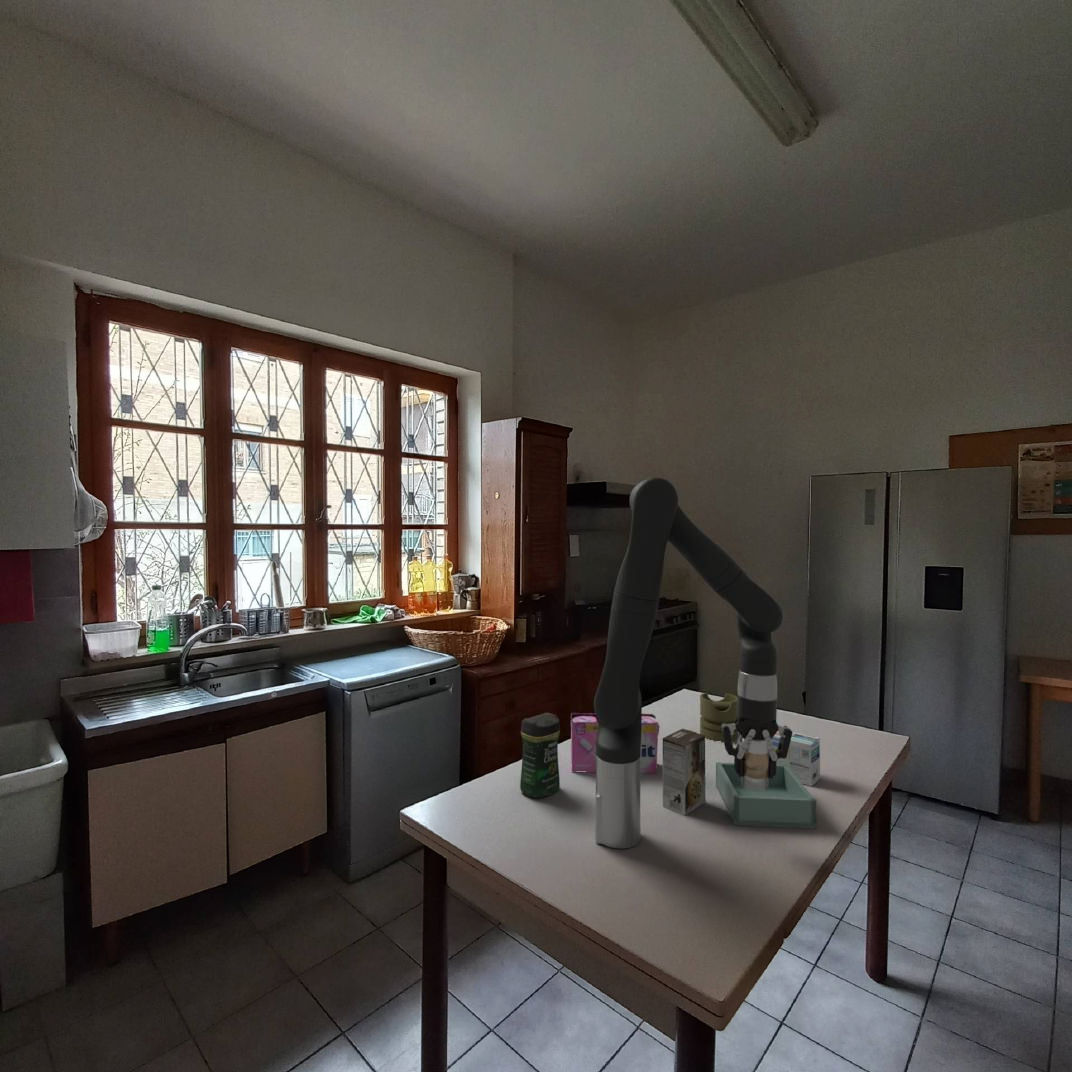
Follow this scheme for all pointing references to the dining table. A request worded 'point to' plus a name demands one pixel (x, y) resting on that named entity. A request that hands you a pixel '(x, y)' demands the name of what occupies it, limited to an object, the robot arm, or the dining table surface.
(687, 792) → the coffee box
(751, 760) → the shiny silver brown cylinder
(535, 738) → the coffee jar
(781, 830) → the dining table surface
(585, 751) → the gum box
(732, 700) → the piston
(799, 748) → the light bulb box
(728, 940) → the dining table surface
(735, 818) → the green tray
